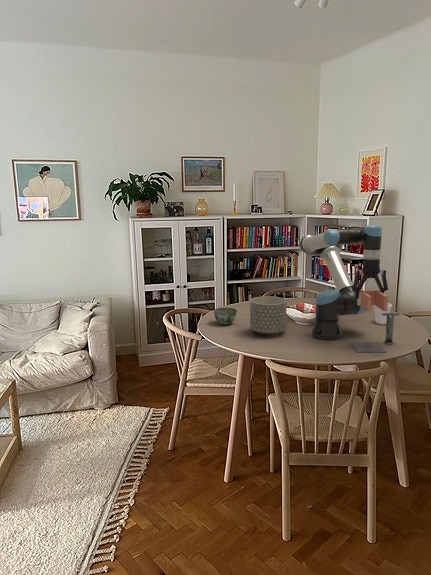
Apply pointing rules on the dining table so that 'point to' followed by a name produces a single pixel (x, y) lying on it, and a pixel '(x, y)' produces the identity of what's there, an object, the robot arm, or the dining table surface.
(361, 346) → the mat
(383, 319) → the cup
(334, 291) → the robot arm
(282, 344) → the dining table surface
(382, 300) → the c link
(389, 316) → the stand
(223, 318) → the bowl
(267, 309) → the planter
